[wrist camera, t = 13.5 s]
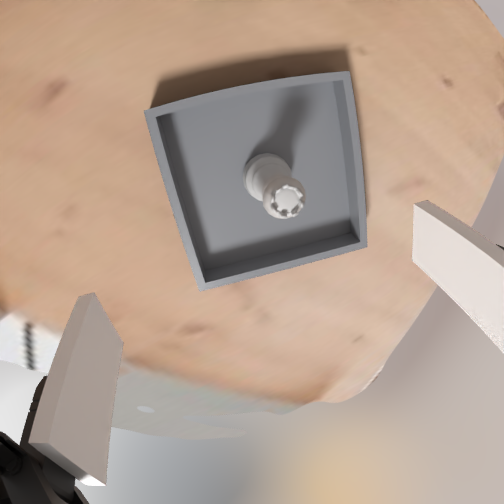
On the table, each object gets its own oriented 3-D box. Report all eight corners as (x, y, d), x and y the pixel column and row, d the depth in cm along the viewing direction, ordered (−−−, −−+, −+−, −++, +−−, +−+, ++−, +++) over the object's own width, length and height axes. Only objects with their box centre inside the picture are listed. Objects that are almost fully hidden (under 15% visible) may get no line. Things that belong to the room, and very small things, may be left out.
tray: (149, 109, 26) (143, 110, 23) (336, 72, 26) (349, 70, 24) (199, 275, 34) (199, 291, 31) (355, 235, 35) (367, 246, 32)
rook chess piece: (296, 163, 29) (328, 185, 22) (277, 204, 31) (301, 239, 24) (253, 144, 28) (272, 161, 21) (234, 188, 30) (246, 219, 23)
